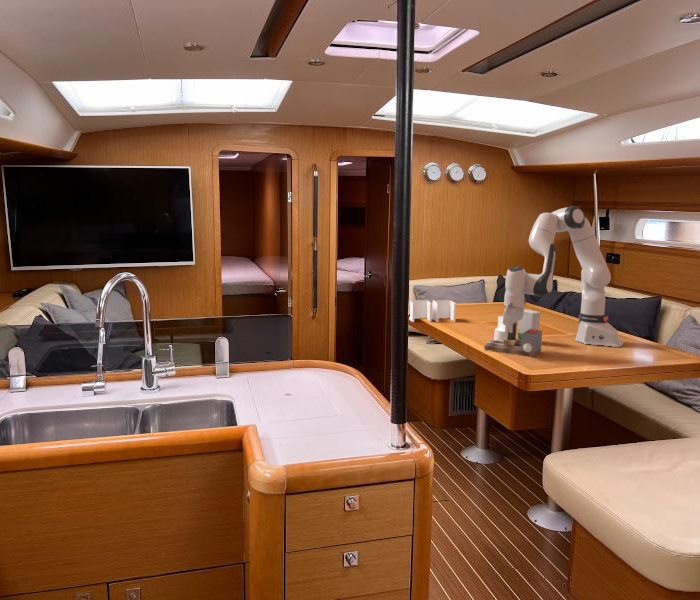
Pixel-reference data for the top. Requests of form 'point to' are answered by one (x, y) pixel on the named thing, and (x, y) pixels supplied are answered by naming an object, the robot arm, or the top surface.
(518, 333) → the skincare box
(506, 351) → the rail board
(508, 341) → the carriage
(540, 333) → the end cabinet
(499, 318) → the base with upright slab
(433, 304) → the white slotted rack
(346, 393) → the top surface
